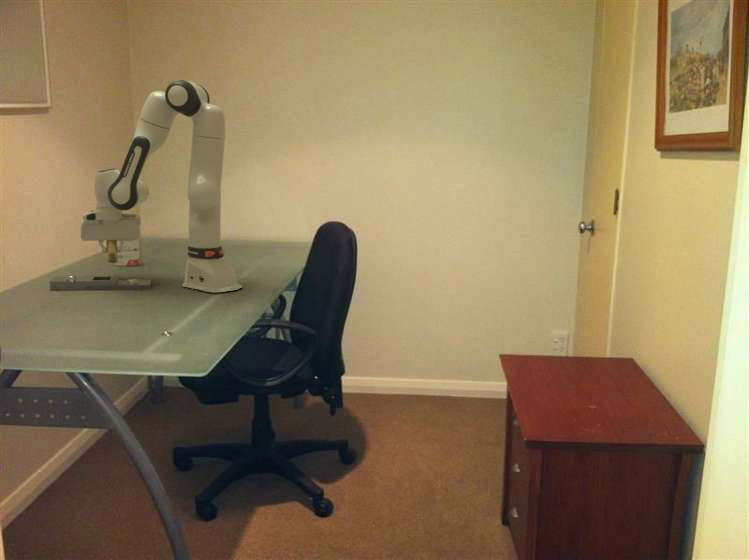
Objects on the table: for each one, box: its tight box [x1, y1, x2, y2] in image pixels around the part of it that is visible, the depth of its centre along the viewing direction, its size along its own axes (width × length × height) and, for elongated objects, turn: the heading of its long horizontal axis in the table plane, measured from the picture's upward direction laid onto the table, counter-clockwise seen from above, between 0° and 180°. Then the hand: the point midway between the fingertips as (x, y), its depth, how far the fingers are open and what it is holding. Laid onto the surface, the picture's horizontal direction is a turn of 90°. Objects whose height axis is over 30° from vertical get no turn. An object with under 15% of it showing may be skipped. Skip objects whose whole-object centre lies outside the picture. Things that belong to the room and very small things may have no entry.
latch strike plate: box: [49, 274, 152, 291], centre depth 243 cm, size 32×8×4 cm, turn 105°
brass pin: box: [105, 240, 118, 264], centre depth 254 cm, size 4×4×8 cm
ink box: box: [114, 239, 140, 267], centre depth 279 cm, size 9×5×12 cm, turn 96°
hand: (112, 252), depth 254 cm, fingers closed on brass pin, 4 cm apart
